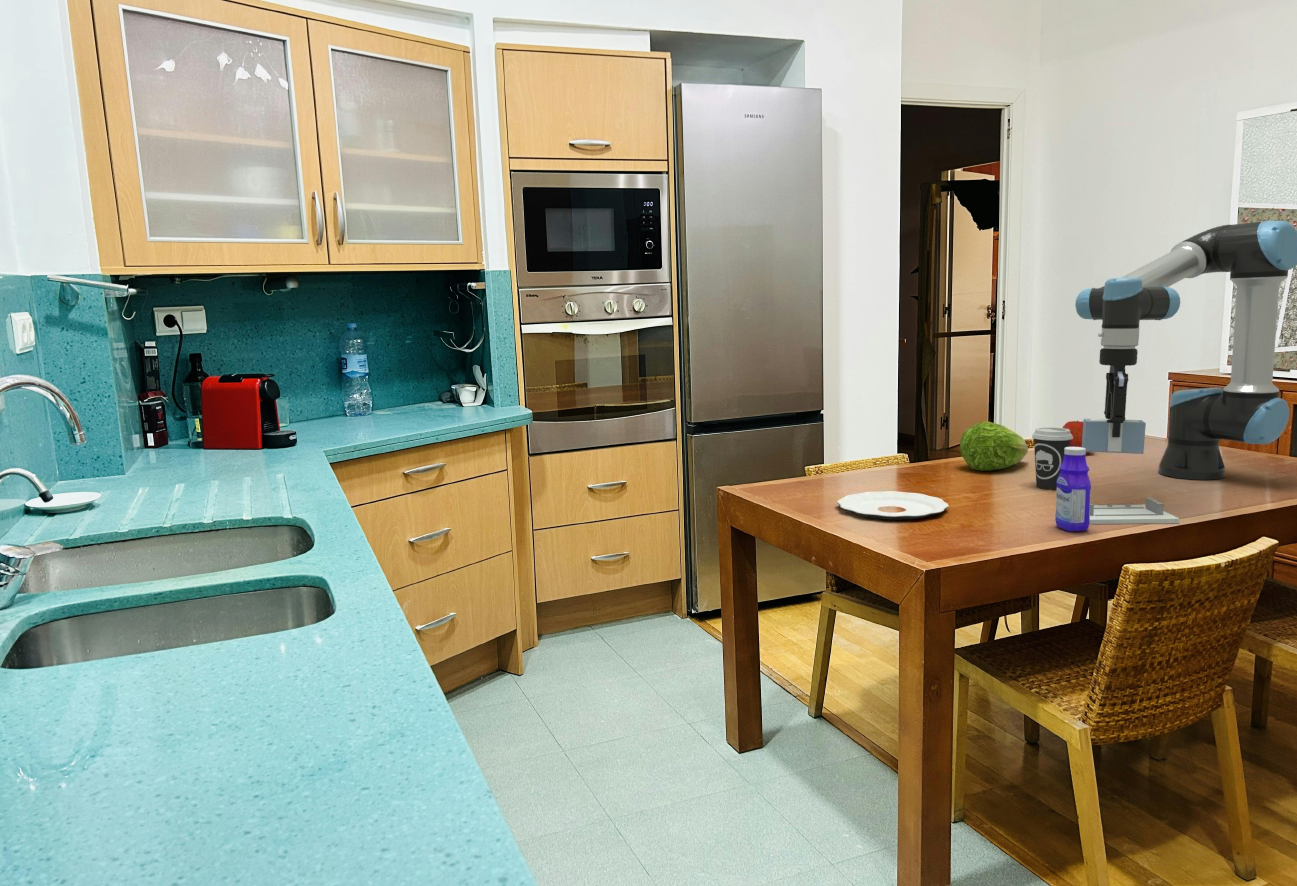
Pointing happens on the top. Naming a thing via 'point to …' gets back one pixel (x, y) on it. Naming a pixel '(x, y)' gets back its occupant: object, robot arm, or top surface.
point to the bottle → (1073, 491)
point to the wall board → (1131, 514)
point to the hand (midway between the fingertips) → (1112, 449)
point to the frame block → (1098, 436)
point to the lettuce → (991, 447)
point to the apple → (1075, 433)
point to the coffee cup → (1049, 454)
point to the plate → (892, 504)
